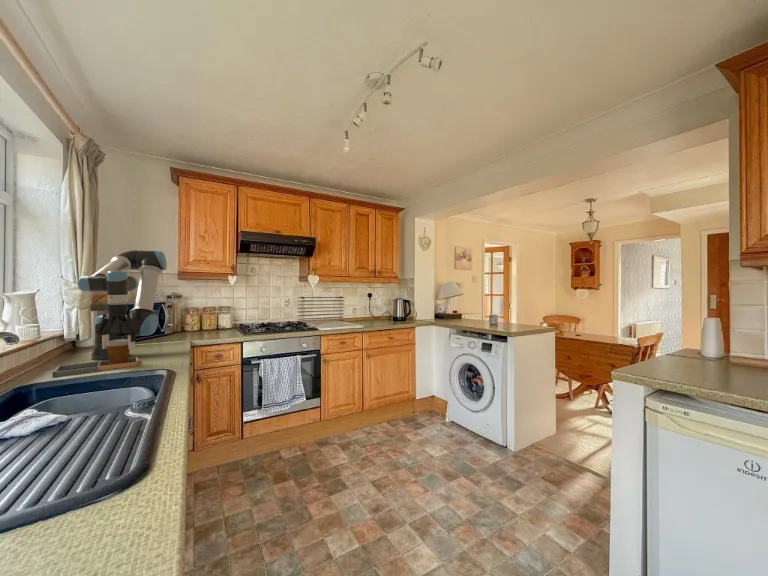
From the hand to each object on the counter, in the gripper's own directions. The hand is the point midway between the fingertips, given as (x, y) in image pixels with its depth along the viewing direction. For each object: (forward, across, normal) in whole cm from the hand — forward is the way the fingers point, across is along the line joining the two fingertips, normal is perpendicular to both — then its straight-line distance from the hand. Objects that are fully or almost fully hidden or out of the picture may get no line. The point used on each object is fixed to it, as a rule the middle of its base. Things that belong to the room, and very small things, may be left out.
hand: (118, 348), depth 151 cm
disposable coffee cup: (+8, 0, 0) cm, 8 cm away
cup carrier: (+8, -5, -5) cm, 11 cm away
